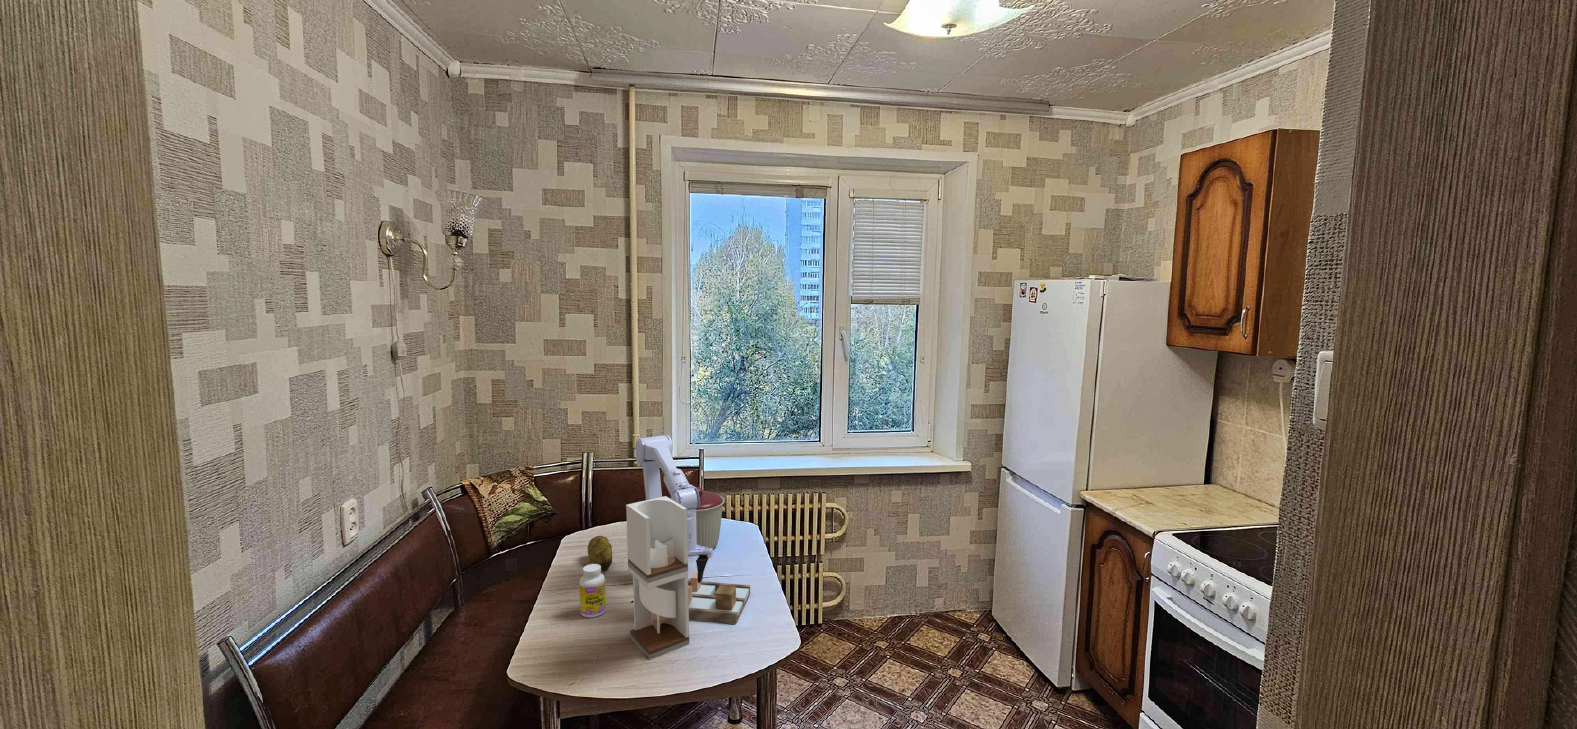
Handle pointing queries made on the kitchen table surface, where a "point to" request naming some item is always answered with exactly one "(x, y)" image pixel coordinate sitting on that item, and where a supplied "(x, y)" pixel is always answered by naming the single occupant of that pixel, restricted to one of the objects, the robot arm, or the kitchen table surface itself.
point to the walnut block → (725, 597)
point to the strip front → (709, 603)
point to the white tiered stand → (658, 574)
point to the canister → (708, 518)
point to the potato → (600, 552)
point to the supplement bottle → (592, 591)
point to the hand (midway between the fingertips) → (686, 580)
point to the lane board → (716, 614)
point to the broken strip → (713, 588)
